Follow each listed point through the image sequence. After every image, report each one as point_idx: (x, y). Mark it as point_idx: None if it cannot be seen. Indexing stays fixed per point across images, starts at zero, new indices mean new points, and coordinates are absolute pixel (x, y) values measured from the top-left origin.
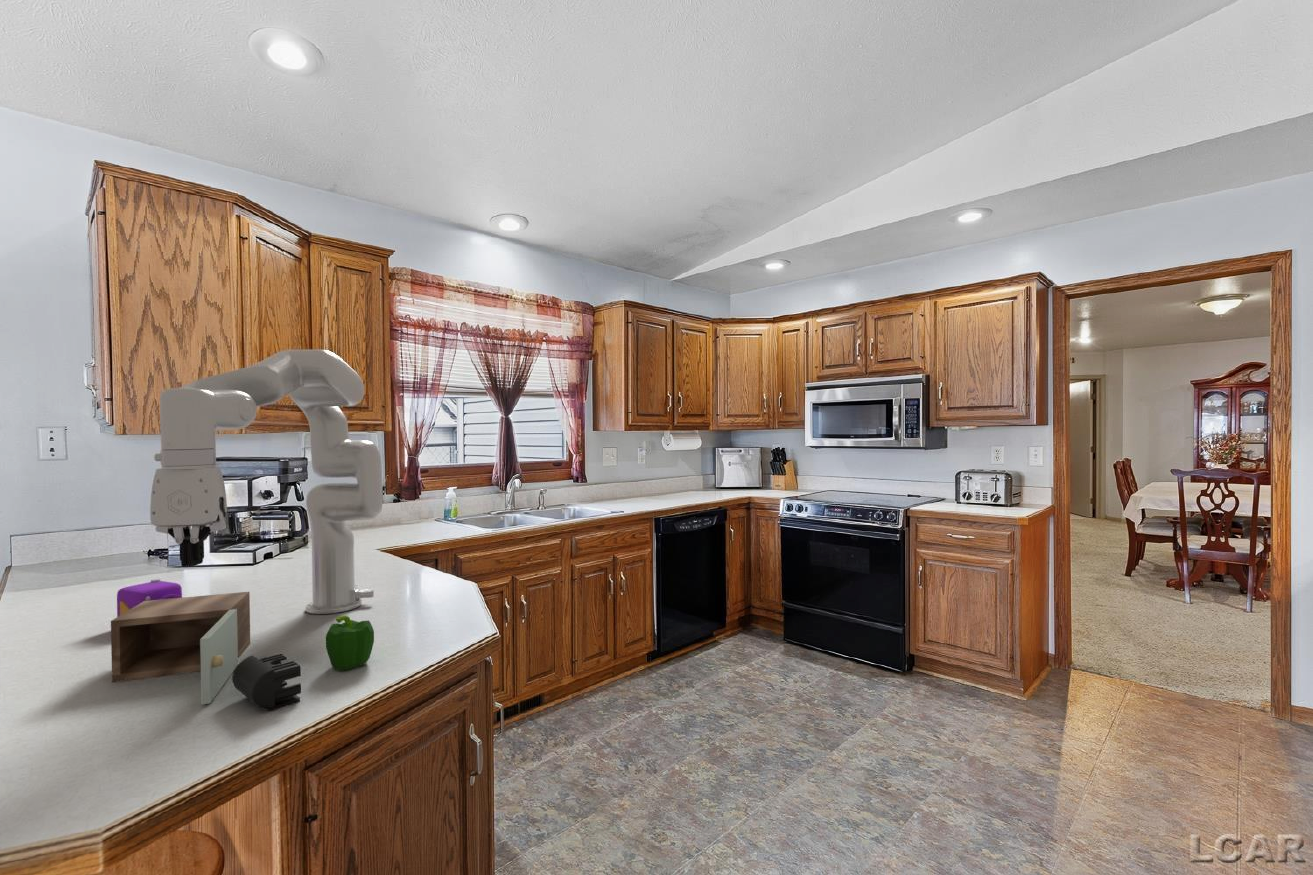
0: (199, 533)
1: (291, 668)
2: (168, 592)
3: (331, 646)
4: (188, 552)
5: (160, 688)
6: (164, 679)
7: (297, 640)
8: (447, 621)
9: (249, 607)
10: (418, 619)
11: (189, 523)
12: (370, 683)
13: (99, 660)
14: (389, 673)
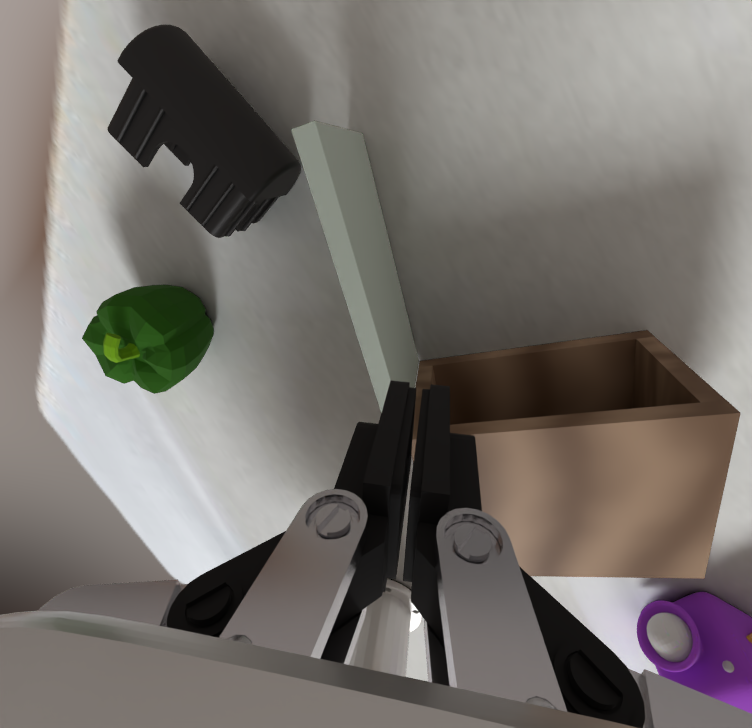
0: (266, 573)
1: (116, 112)
2: (690, 684)
3: (157, 297)
4: (393, 433)
5: (515, 269)
6: (531, 321)
7: None
8: (146, 488)
9: None
10: (200, 510)
11: (198, 684)
12: (91, 212)
13: (730, 463)
14: (88, 259)
